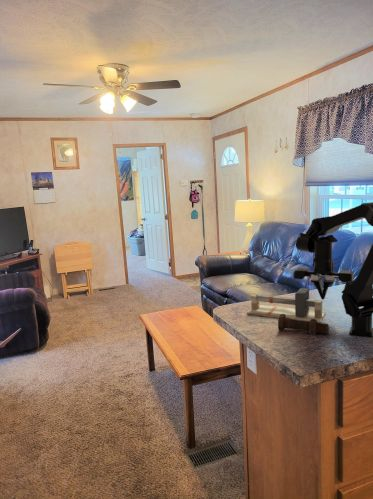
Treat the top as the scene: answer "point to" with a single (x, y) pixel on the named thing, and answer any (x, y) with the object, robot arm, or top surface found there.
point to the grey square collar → (301, 302)
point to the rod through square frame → (289, 312)
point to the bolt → (302, 325)
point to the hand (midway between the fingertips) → (323, 299)
